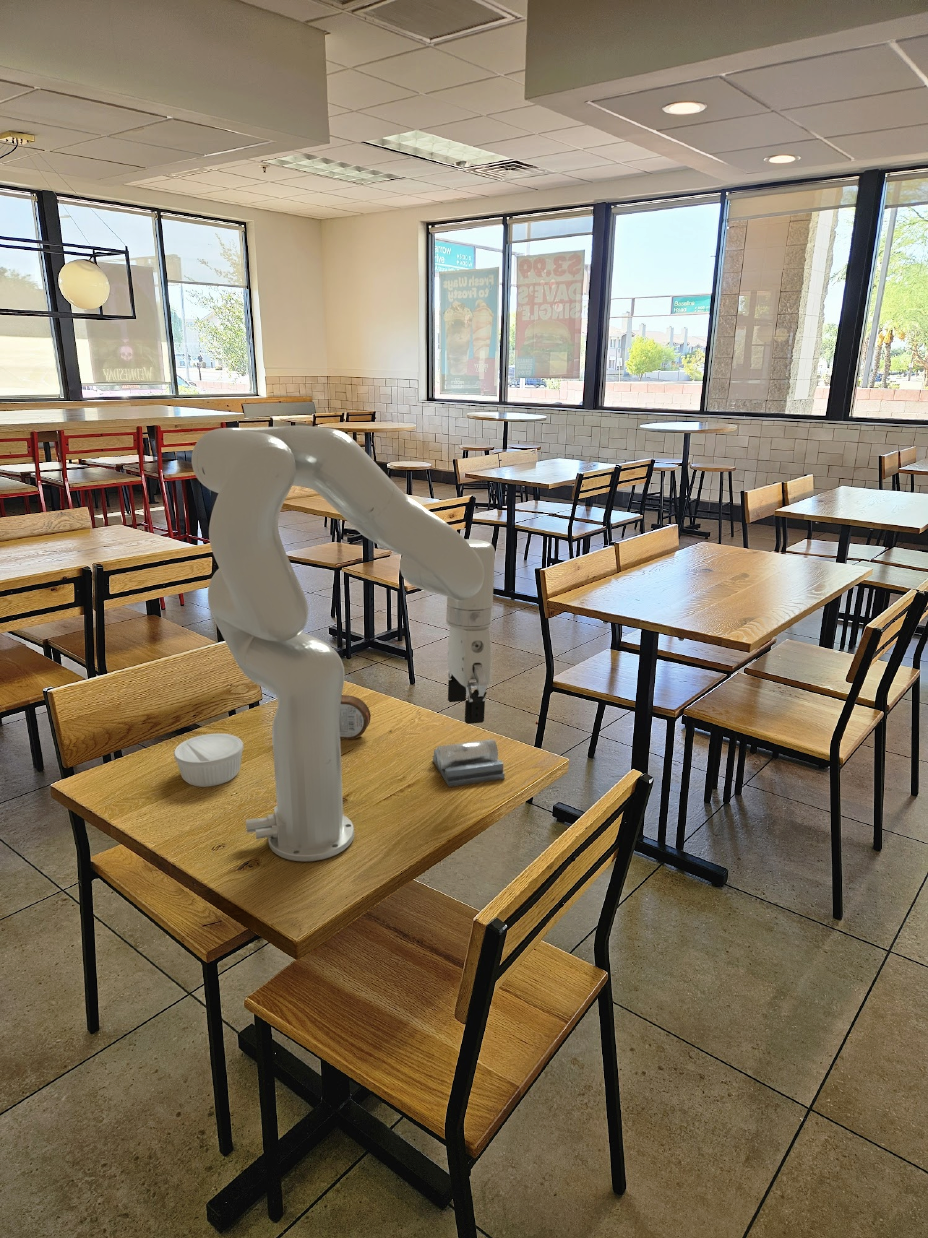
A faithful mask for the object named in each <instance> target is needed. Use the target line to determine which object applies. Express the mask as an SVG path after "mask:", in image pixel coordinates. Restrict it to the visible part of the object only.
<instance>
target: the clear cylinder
mask: <svg viewBox="0 0 928 1238" xmlns="http://www.w3.org/2000/svg"><path fill="white" fill-rule="evenodd" d="M436 749H437V752H436V754H437V762H438V766H439V768H440V769H441V770H442V769H445V768H446V767H453V766H460V765H467V764H474V763H481V762H489V761H496V760H499V759H498V758H499V749H498V746H497V742H496V740H495V739H494V738H491V739H485V740H477V741H475V740H474V741H468V742H461V743H454V744H453V743H452V744H446V745H438V746H436Z"/></svg>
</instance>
